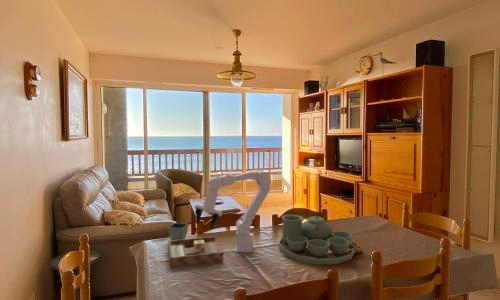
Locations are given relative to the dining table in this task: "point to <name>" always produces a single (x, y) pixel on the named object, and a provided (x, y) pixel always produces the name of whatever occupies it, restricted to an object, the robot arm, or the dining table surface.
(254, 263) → the dining table surface
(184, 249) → the walnut box
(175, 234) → the flower pot
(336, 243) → the tea set
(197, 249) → the maple block
